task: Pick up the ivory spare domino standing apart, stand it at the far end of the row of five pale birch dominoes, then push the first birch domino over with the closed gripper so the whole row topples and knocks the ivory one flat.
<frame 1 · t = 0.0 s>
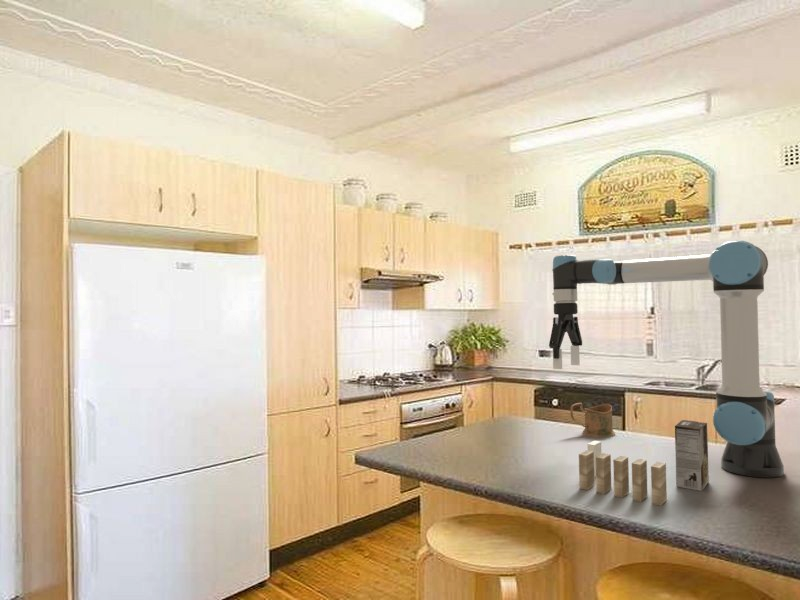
hand: (566, 367, 180), 28 cm above the countertop, fingers open, 13 cm apart
domino 1: (659, 501, 133), on the countertop
domino 2: (640, 497, 136), on the countertop
coffee box: (692, 485, 145), on the countertop
domino 5: (587, 487, 145), on the countertop
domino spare: (595, 474, 156), on the countertop
mug: (591, 435, 204), on the countertop
domino 3: (621, 494, 139), on the countertop
domino 4: (604, 490, 142), on the countertop
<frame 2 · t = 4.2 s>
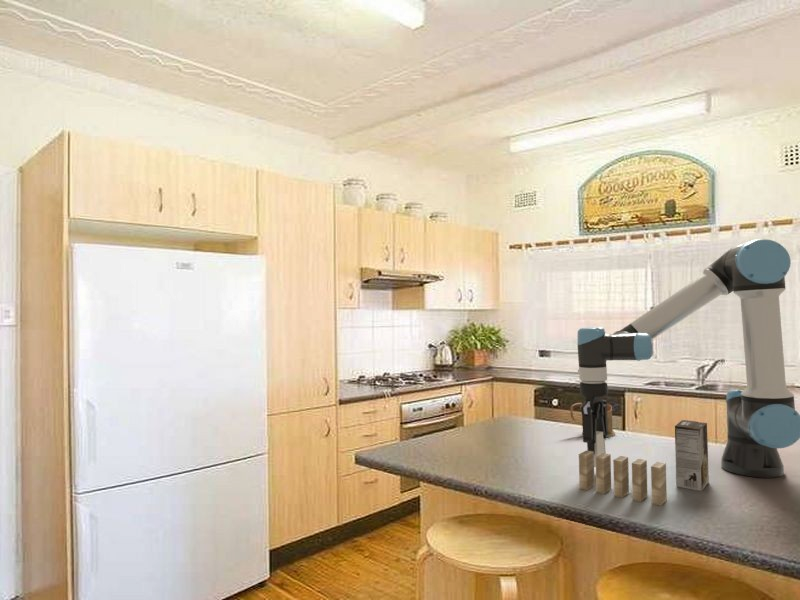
hand: (597, 463, 155), 3 cm above the countertop, fingers closed on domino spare, 5 cm apart
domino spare: (598, 464, 155), point 3 cm above the countertop, touching gripper
everything else where it was.
when the fingers open (1 cm above the countertop, at t = 8.6 s): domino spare stays where it is, on the countertop.
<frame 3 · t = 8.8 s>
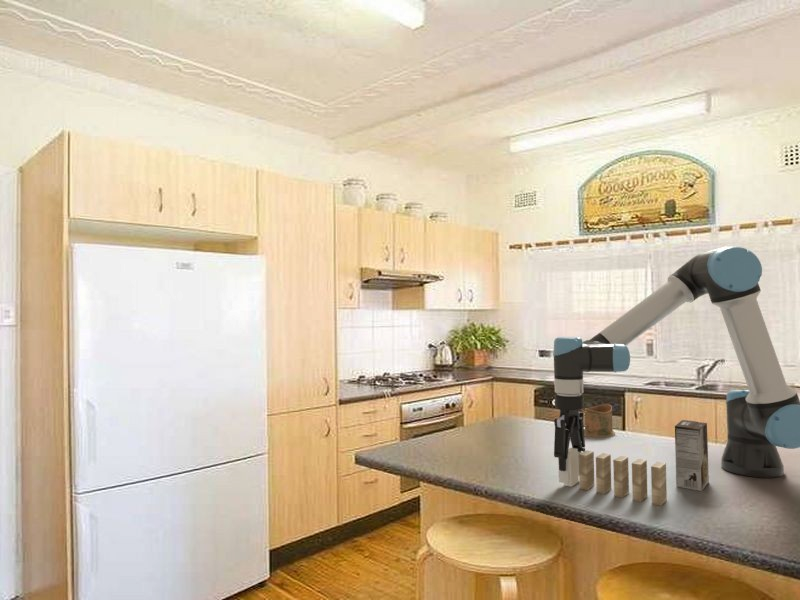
hand: (570, 478, 148), 1 cm above the countertop, fingers open, 7 cm apart
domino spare: (571, 483, 148), on the countertop
everything else where it was.
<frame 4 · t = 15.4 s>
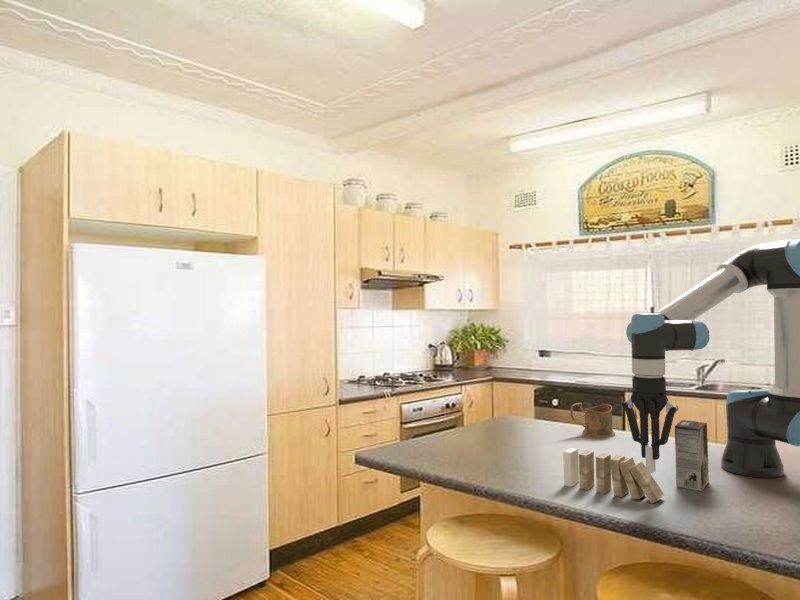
hand: (650, 471, 134), 7 cm above the countertop, fingers closed
domino 1: (658, 499, 133), point 1 cm above the countertop, tilted 35°
domino 2: (639, 496, 136), on the countertop, tilted 22°
domino 3: (621, 493, 139), on the countertop, tilted 6°
everything else where it was.
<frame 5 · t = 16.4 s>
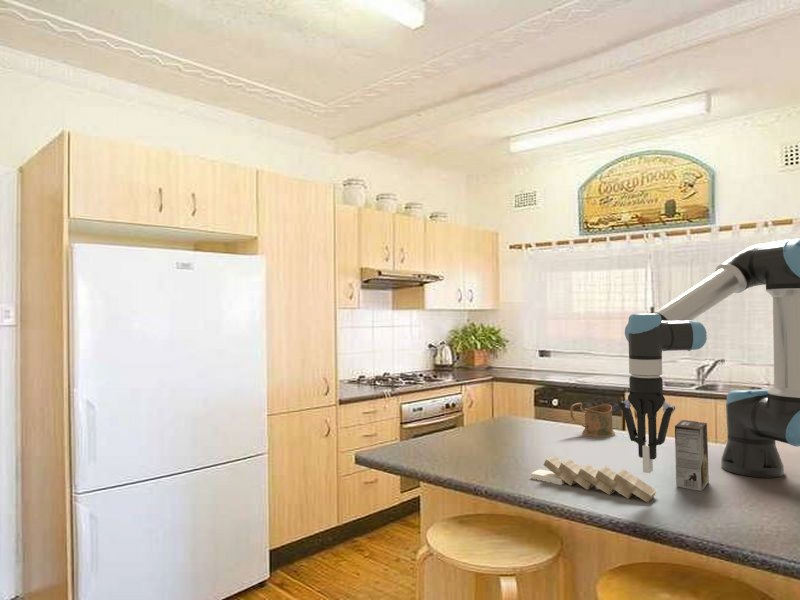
hand: (647, 471, 135), 7 cm above the countertop, fingers closed
domino 1: (652, 496, 134), point 1 cm above the countertop, tilted 64°, touching domino 2
domino 2: (633, 492, 137), point 1 cm above the countertop, tilted 64°, touching domino 1
domino 5: (576, 480, 147), point 1 cm above the countertop, tilted 64°, touching domino 4, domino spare
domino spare: (565, 480, 149), on the countertop, tilted 90°, touching domino 5
domino 3: (614, 489, 140), point 1 cm above the countertop, tilted 66°, touching domino 4
domino 4: (592, 484, 144), point 1 cm above the countertop, tilted 63°, touching domino 3, domino 5
everything else where it was.
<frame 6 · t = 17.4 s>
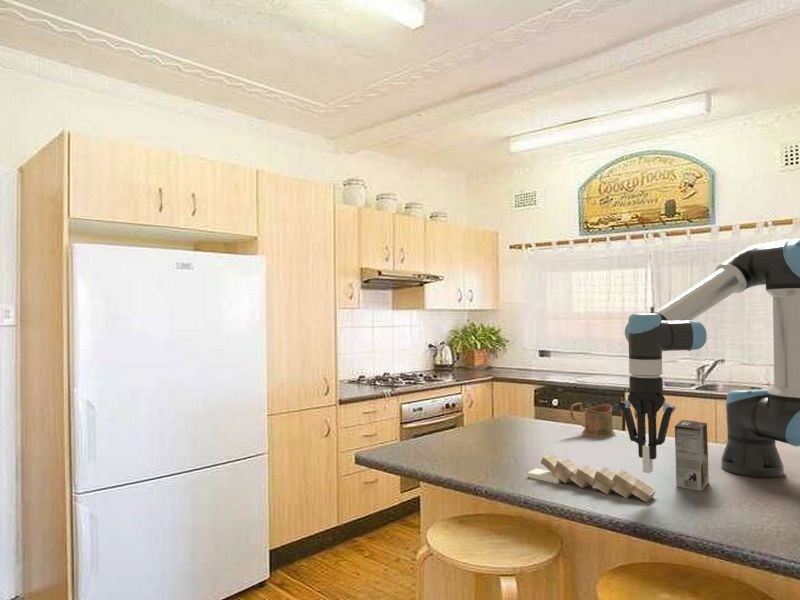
hand: (647, 471, 135), 7 cm above the countertop, fingers closed
domino 1: (651, 496, 134), point 1 cm above the countertop, tilted 65°, touching domino 2
domino 2: (631, 492, 137), point 1 cm above the countertop, tilted 65°, touching domino 1, domino 3
domino 5: (572, 479, 148), point 1 cm above the countertop, tilted 65°, touching domino 4, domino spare
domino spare: (561, 480, 150), on the countertop, tilted 90°, touching domino 5
domino 3: (612, 488, 140), point 1 cm above the countertop, tilted 68°, touching domino 2
domino 4: (588, 483, 145), point 1 cm above the countertop, tilted 64°, touching domino 5
everything else where it was.
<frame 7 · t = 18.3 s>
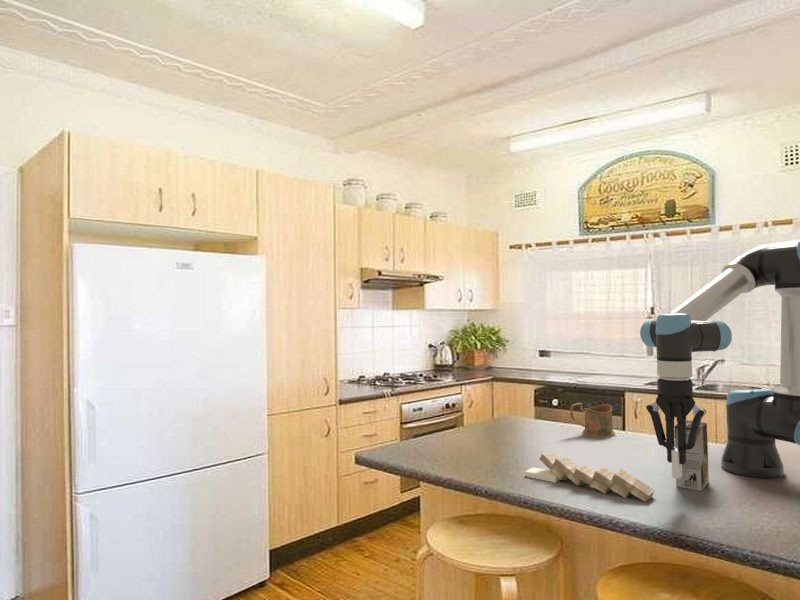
hand: (677, 476, 131), 7 cm above the countertop, fingers closed
domino 1: (650, 496, 134), point 1 cm above the countertop, tilted 65°, touching domino 2
domino 5: (568, 476, 150), point 1 cm above the countertop, tilted 66°, touching domino 4, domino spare
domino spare: (559, 478, 151), on the countertop, tilted 90°, touching domino 5
domino 3: (610, 488, 141), point 1 cm above the countertop, tilted 69°, touching domino 2, domino 4
domino 4: (584, 481, 146), point 1 cm above the countertop, tilted 65°, touching domino 3, domino 5
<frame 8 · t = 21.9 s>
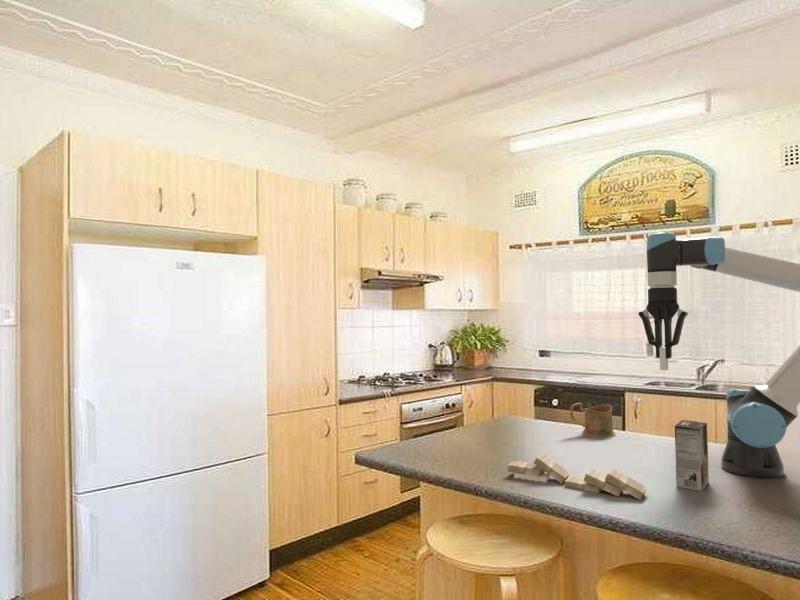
hand: (664, 369, 156), 29 cm above the countertop, fingers closed
domino 1: (643, 493, 136), point 1 cm above the countertop, tilted 67°, touching domino 2
domino 2: (621, 490, 139), point 1 cm above the countertop, tilted 72°, touching domino 1
domino 5: (541, 471, 152), point 2 cm above the countertop, tilted 90°, touching domino 4, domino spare
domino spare: (548, 478, 151), on the countertop, tilted 90°, touching domino 5
domino 3: (602, 488, 142), on the countertop, tilted 90°
domino 4: (566, 478, 150), point 1 cm above the countertop, tilted 60°, touching domino 5
everything else where it was.
at the end: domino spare tilted 90°; domino 5 tilted 90°; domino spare inside the target area (3.3 cm from its centre), on the countertop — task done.
